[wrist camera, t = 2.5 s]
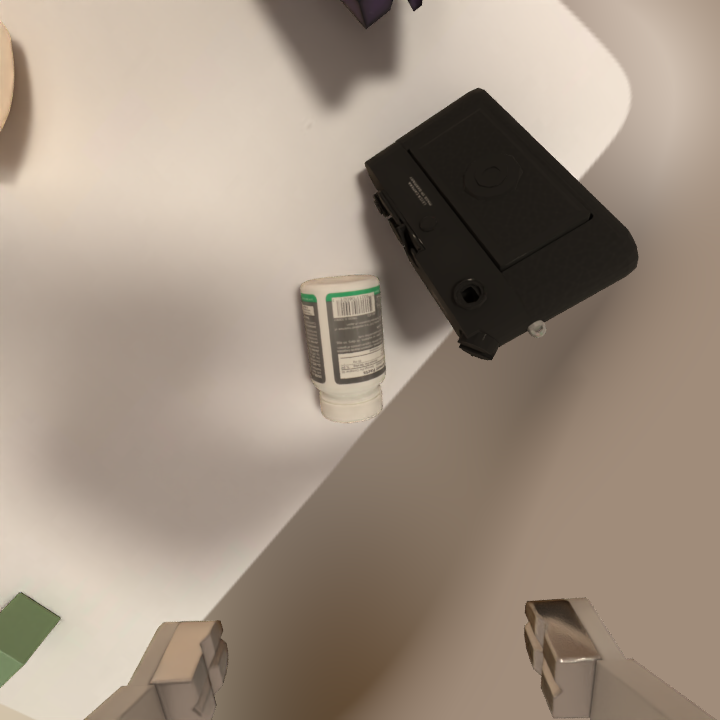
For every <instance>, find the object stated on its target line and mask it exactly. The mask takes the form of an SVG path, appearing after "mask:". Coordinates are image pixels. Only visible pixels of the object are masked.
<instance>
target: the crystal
mask: <svg viewBox="0 0 720 720" xmlns="http://www.w3.org/2000/svg"><path fill="white" fill-rule="evenodd" d="M341 1H342V2H343V4H344V5H345V6H346V7H347V8H348V9H349V10H350V12H351V13H352V14H353V15H354V16H355V17H356V18H357V19H358V21H359V22H360V23H361V24H362V25H363V26H364V27H365V29H367V28H369V27H370V26H371V25H372V24H373V23H375V22H376V21H377V20H378V19H380V18H381V17H382V16H383V15H385V14H386V13H387V12H388V11H390V9H391V6H392V2H393V0H341ZM408 2H409V4H410V6H411V8H412V9H413V11H415V10H417V9H418V8H419V7H420V6H422V0H408Z"/></svg>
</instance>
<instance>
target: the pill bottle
mask: <svg viewBox="0 0 720 720" xmlns="http://www.w3.org/2000/svg"><path fill="white" fill-rule="evenodd" d="M300 290H301V301H302V307H303V316H304V323H305V331H306V339H307V347H308V355H309V363H310V371H311V378H312V382H313V384H314V385H315V387H316V388H317V389H319V390H320V393H319V395H320V405H321V412H322V415H323V416H324V417H325V418H326V419H328V420H331V421H334V422H340V423H353V422H360V421H365V420H368V419H371V418H373V417H375V416H376V415H378V414H379V413H380V412H381V410H382V407H383V405H382V391H381V386H380V385H379V384H381V383H382V381H383V380H384V378H385V373H386V367H385V354H384V341H383V327H382V313H381V297H380V285H379V279H378V278H377V277H375V276H372V275H348V276H337V277H326V278H319V279H312V280H308V281H306V282H304V283H303V284H302V285H301V288H300Z"/></svg>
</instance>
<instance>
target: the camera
mask: <svg viewBox="0 0 720 720" xmlns="http://www.w3.org/2000/svg"><path fill="white" fill-rule="evenodd" d="M365 166H366V168H367V171H368V173H369V176H370V178H371V180H372V182H373V184H374V185H375V187H376V189H377V191H378V192H377V193H376V194H374V195H373V197H374V199H375V201H374V203H375V205H376V207H377V209H378V210H379V212H380V213H381V215H382V214H383V215H384V217H385V218H386V217H388V216H390V215H391V216H392V217H391V218H389V219H388V221H389V223H390V225H391V227H392V229H393V231H394V233H395V235H396V237H397V238H398V240H399V241H400V243H401V244H402V245H403V246H405V247H404V249H405V251H406V254H407V256H408V259H409V261H410V262H411V264H412V265H413V267H414V269H415V270H416V272H417V273H418V275H419V276H420V278H421V279H422V281H423V282H424V284H425V285H426V287H427V289H428V290H429V292H430V293H431V295H432V296H433V298H434V299H435V301H436V302H437V304H438V305H439V307H440V309H441V310H442V312H443V313H444V315H445V316H446V318H447V319H448V321H449V322H450V324H451V325H452V327H453V329H454V330H455V332H456V333H457V335H458V336H459V340H458V343H460V346H459V348H461V349H462V350H463V351H465V352H467V353H469V354H471V356H475V357H478V358H480V359H484V360H492V359H493V357H494V355H495V353H496V351H497V349H498V347H500V346H502V345H503V344H505V343H507V342H509V341H511V340H512V339H514V338H516V337H517V336H519V335H521V334H523V333H525V332H526V331H528V332H529V334H530V335H531V336H534V337H536V338H541V337H542V336H543V335H544V334H545V333H546V326H545V323H544V322H546V321H548V320H549V319H551V318H553V317H554V316H556V315H558V314H560V313H562V312H564V311H565V310H567V309H569V308H571V307H572V306H574V305H576V304H578V303H579V302H581V301H583V300H585V299H587V298H588V297H590V296H592V295H594V294H596V293H597V292H599V291H601V290H603V289H605V288H606V287H608V286H610V285H612V284H613V283H615V282H617V281H619V280H620V279H622V278H624V277H626V276H627V275H628V274H630V273H631V272H632V271H633V270H634V269H635V268H636V267H637V261H638V252H637V246H636V244H635V241H634V239H633V237H632V235H631V234H630V232H629V231H628V229H627V228H626V227H625V226H624V225H623V224H622V223H621V222H620V221H619V220H618V219H617V218H615V217H614V215H612V214H611V213H610V212H609V211H608V210H607V209H606V208H605V207H604V206H603V205H602V204H601V203H600V202H599V201H598V200H597V199H596V198H595V197H594V196H593V195H592V194H591V193H590V192H589V191H588V190H587V189H586V188H585V187H584V186H583V185H582V184H580V182H579V181H578V180H577V179H576V178H574V177H573V176H572V175H571V174H570V173H569V172H568V171H567V170H566V169H565V168H564V167H563V166H562V165H561V164H560V163H559V162H558V161H557V160H556V159H555V158H554V157H553V156H552V155H551V154H550V153H549V152H548V151H547V150H546V149H545V148H544V147H543V146H542V145H541V144H540V143H538V142H537V141H536V140H535V139H534V138H533V137H532V136H531V135H530V134H529V133H528V132H527V131H526V130H525V129H524V128H523V127H522V126H521V125H520V124H519V123H518V122H517V121H516V120H515V119H514V118H513V117H512V116H511V115H510V114H509V113H508V112H507V111H506V110H504V109H503V108H502V107H501V106H500V105H499V104H498V103H497V102H496V101H495V100H494V99H493V98H492V97H491V96H490V95H489V94H488V93H487V92H486V91H485V90H483V89H480V88H477V89H474V90H472V91H470V92H468V93H467V94H465V95H464V96H462V97H461V98H459V99H458V100H456V101H455V102H453V103H452V104H450V105H449V106H447V107H446V108H444V109H443V110H441V111H440V112H438V113H437V114H435V115H434V116H432V117H431V118H429V119H428V120H426V121H425V122H423V123H422V124H420V125H419V126H417V127H416V128H414V129H413V130H411V131H410V132H408V133H407V134H405V135H404V136H403V137H401V138H400V139H398V140H397V141H396V142H395V143H393V144H392V145H390V146H389V147H387V148H386V149H384V150H383V151H381V152H380V153H378V154H377V155H375V156H374V157H372V158H371V159H369V160H368V161H366V162H365ZM541 329H542V331H541V332H540V333H537V332H538V331H540V330H541Z"/></svg>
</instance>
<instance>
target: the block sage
mask: <svg viewBox="0 0 720 720" xmlns="http://www.w3.org/2000/svg"><path fill="white" fill-rule="evenodd" d="M59 620H60V618H59V617H58V616H56V615H55V614H53V613H52V612H50V611H49V610H47V609H45V608H44V607H42V606H41V605H39V604H38V603H36V602H35V601H33V600H31V599H30V598H28V597H27V596H25V595H24V594H22V593H19V594H18V595H17V596H16V597H15V598H14V599H13V600H12V601H11V602H10V603H9V604H8V605H7V606H6V607H5V608H4V609H3V610H2V611H1V612H0V688H1V687H2V686H3V685H4V684H5V683H6V682H7V681H8V680H9V679H10V678H11V677H12V676H13V675H14V674H15V673H16V672H17V671H18V670H19V669H20V668H21V667H23V666H24V664H25V663H26V662H27V661H28V659H29V658H30V657H31V656H32V654H33V653H34V652H35V651H36V649H37V648H38V647H39V646H40V644H41V643H42V642H43V640H44V639H45V638H46V637H47V635H48V634H49V633H50V632H51V630H52V629H53V628H54V627H55V625H56V624H57V623H58V622H59Z"/></svg>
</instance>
